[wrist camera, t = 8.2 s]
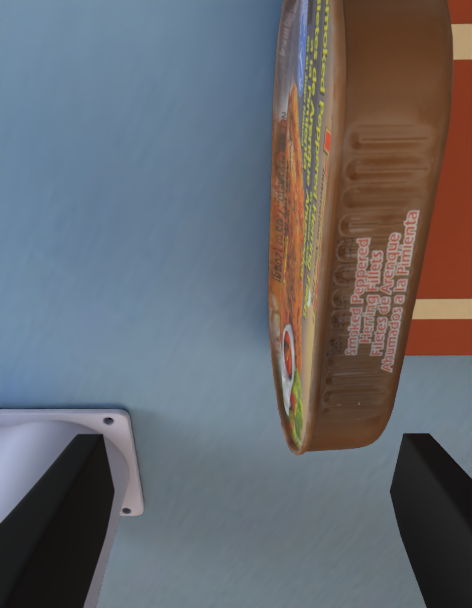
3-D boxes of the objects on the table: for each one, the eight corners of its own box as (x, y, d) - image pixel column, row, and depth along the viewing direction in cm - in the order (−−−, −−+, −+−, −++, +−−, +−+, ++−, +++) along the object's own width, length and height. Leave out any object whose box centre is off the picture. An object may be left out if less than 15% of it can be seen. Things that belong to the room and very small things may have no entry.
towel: (352, 348, 21) (355, 356, 21) (408, -50, 14) (415, -55, 13) (501, 348, 21) (508, 356, 21) (636, -54, 14) (652, -58, 13)
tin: (276, -34, 14) (317, -127, 7) (376, -35, 14) (523, -129, 7) (265, 356, 22) (279, 513, 14) (331, 355, 22) (379, 512, 14)
